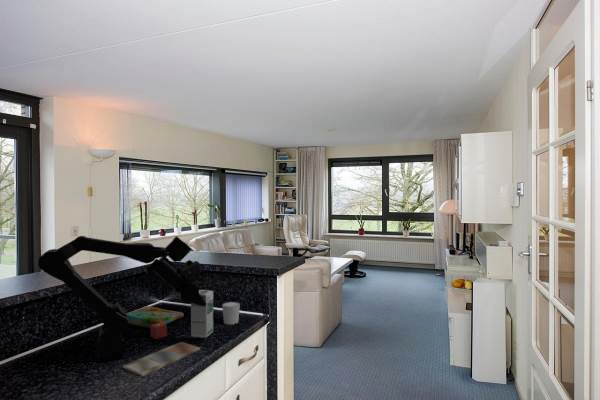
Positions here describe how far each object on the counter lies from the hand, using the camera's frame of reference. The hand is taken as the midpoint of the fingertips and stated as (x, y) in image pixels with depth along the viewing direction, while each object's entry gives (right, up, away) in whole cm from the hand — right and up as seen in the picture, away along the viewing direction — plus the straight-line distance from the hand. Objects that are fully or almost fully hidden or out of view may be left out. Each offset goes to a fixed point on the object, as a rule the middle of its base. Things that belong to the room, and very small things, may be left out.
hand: (203, 302), depth 125 cm
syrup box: (0, -11, 0) cm, 11 cm away
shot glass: (+6, -13, +19) cm, 24 cm away
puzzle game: (-24, -13, +17) cm, 33 cm away
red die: (-17, -13, +4) cm, 22 cm away
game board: (-8, -13, -13) cm, 21 cm away
